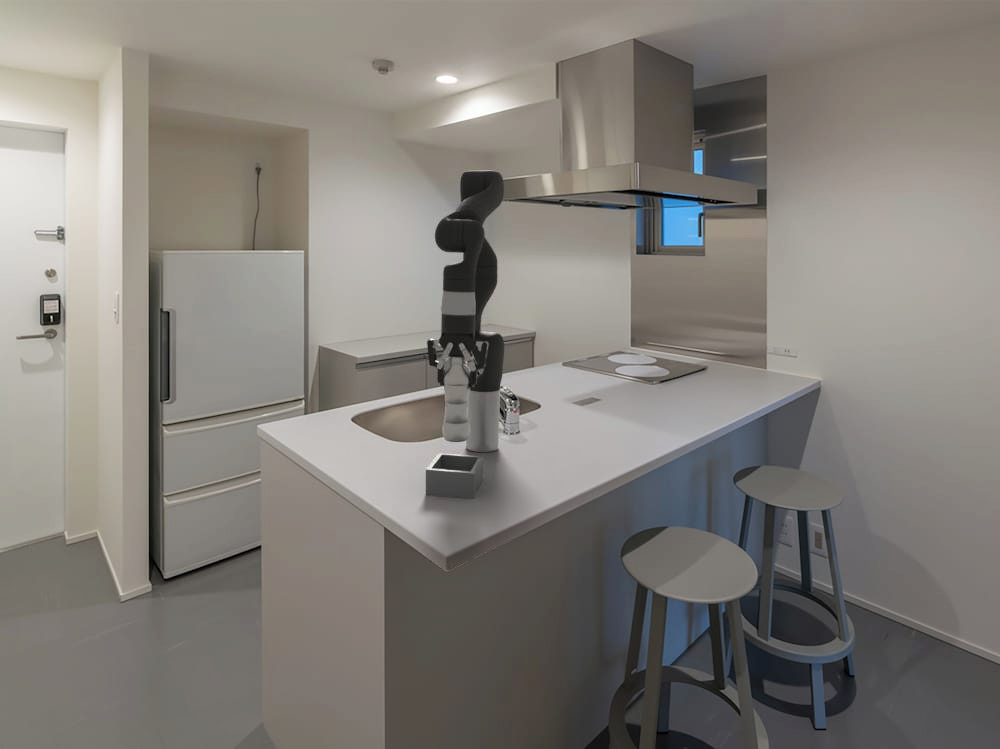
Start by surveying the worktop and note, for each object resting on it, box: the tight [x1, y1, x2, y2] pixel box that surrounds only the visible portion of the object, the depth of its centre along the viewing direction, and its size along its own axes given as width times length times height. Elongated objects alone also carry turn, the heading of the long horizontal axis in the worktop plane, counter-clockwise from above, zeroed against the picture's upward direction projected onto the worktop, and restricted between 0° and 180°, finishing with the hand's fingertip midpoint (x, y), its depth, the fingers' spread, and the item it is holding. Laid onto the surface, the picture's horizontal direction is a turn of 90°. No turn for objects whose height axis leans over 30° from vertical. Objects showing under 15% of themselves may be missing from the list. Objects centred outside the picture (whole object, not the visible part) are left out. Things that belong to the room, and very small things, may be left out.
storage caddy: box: [425, 452, 484, 500], centre depth 138 cm, size 12×11×6 cm
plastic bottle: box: [441, 356, 470, 443], centre depth 135 cm, size 6×7×20 cm
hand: (457, 385), depth 134 cm, fingers closed on plastic bottle, 6 cm apart
